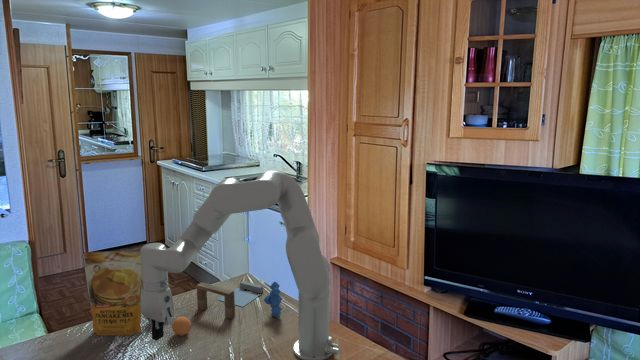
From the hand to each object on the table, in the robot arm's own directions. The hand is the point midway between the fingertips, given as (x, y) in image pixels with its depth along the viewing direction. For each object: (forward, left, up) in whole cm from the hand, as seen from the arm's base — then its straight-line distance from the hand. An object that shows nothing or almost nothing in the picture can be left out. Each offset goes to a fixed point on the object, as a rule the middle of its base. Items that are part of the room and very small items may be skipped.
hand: (157, 337), depth 142 cm
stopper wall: (0, -48, -4) cm, 48 cm away
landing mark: (0, -41, -4) cm, 41 cm away
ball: (0, -10, -1) cm, 10 cm away
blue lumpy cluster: (-19, -36, -4) cm, 41 cm away
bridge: (0, -27, -4) cm, 27 cm away
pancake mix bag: (+20, -1, -4) cm, 20 cm away
